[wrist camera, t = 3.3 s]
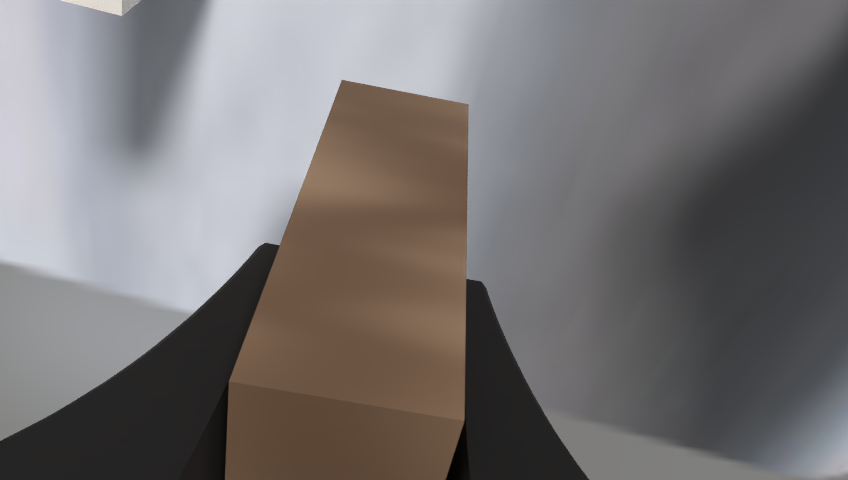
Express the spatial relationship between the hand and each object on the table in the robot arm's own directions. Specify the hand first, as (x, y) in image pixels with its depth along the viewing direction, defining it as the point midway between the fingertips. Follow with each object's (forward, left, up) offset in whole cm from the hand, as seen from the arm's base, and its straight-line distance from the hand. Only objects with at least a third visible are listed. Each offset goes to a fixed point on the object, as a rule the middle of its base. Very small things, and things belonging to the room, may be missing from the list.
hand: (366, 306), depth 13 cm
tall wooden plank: (0, 0, -4) cm, 4 cm away
